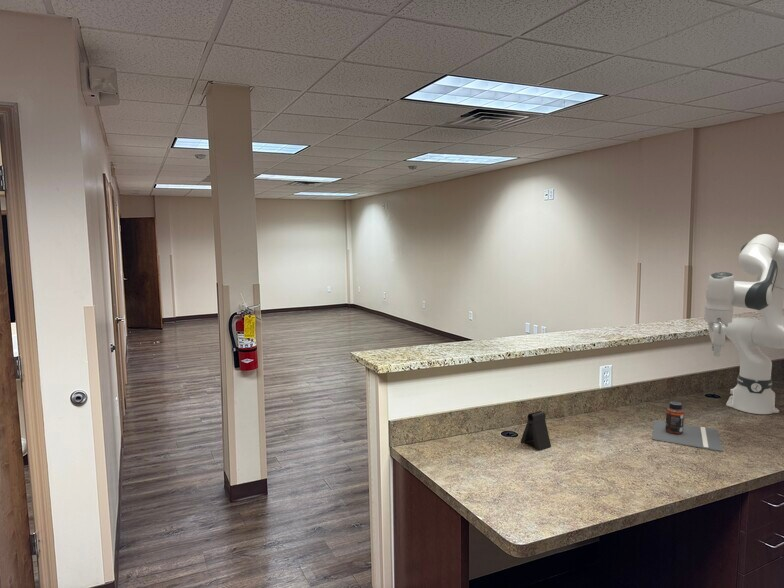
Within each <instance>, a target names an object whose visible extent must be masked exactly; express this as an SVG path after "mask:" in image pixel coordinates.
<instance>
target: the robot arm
mask: <svg viewBox="0 0 784 588" xmlns="http://www.w3.org/2000/svg"><path fill="white" fill-rule="evenodd" d="M737 261H738V265H739V267H740V268H741V269H742V271H743V272H745V273H747V274H749V275H751V276H756V280H755V281H742V280H741V281H740V280H735V275H734V274H733V273H730V272H726V271H724V272H723V271H721V272H714V273H712V274H710V275H709V277H708V280H707V285H706V292H705V298H706V303H705V306H704V316H703V319H704V320H703V321H705V322H707V326H708V335H709V339H710V341H711V350H712V352H713V356H714V357H716V358H717V357H720V355H721V350H722V349H721V348H722V347H724V346H725V345H726V337H727V339H729V340H730V341H731V342H732V343H733V344H734V346H735V348H736V349H737V352H738V356H739V374H738V375H737V381H736V382H737V384H736V385H735V386H734V387H733V388H730V392H729V393H730V394H731V395H730V396H729V397H728V399H727V402H726V403H725V406H727V407H730V408H732V409H735V410H739V411H741V412H745V413H748V414H755V415H770V414H779V413H780V410H779V409H778V408H777V407H775V403H776V393H775V392H774V391H773V390H772V385H773V381H772V380H773V379H772V369H773V362H772V360H771V357H769V356H767V355H766V354H765V353H763V352H762V351H761V348H760V347H765V348H771V349H784V310H783V309H784V307H783V306H784V242H780V241H779V240H778V239H777V238H776V237H775V236H774V235H772V234H769V233H762V234H758V235H756V236H755V237H753V238H751V240H750V241H749V242H745V244H743V245H742V246H741V248H740V252H739V255H738V258H737ZM734 307H736V308H746V309H751V310H755V311H758V312H759V313H760V314H761V318H760V319H758V318H757V319H756V318H750V317H733V316H734Z"/></svg>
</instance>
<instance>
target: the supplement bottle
mask: <svg viewBox="0 0 784 588" xmlns="http://www.w3.org/2000/svg"><path fill="white" fill-rule="evenodd" d="M682 405H683V404H682V403H681V402H678V401H670V402H669V406H668V407H666V412H665V413H666V415H665V422H666V427H665V429H666V431H667V432H669V433H672V434H682V433H683V424H684V421H685V410H684V409H683V408H682V407H683V406H682Z"/></svg>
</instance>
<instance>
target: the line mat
mask: <svg viewBox="0 0 784 588" xmlns="http://www.w3.org/2000/svg"><path fill="white" fill-rule="evenodd" d="M665 427H666V420H657V419H654V420H653V427H652V441H654V440H658V441H657V442H660V441H664V442H663V443H666V442H669V443H668V444H672V443H674V444H675V445H678V444H679V445H680V446H686V447H691V448H698V449H703V450H709V451H715V452H719V453H720V452H721V453H723V446H722V441H721V437H720V433H719V429H718V428H717V429H716V428H711V427H705V426H696V425H690V424H683V433H682V434H672V433H669V432H667V431H666V429H665ZM674 444H673V445H674Z"/></svg>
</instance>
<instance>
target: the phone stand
mask: <svg viewBox="0 0 784 588" xmlns="http://www.w3.org/2000/svg"><path fill="white" fill-rule="evenodd" d="M546 418H547V417H546V413H545V411H543V410H539V411H535V412H531V413H528V414H527V421H526V425H525V428H524V430H523V433H522V436H521V438H520V443H522V444H523V445H526V446H527V447H530V448H532V449H534V450H536V451H542V450H546V449H548V448H549V449H550V448H551V447H552V443H551V441H550V434H549V431H548V428H547V421H546Z"/></svg>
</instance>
